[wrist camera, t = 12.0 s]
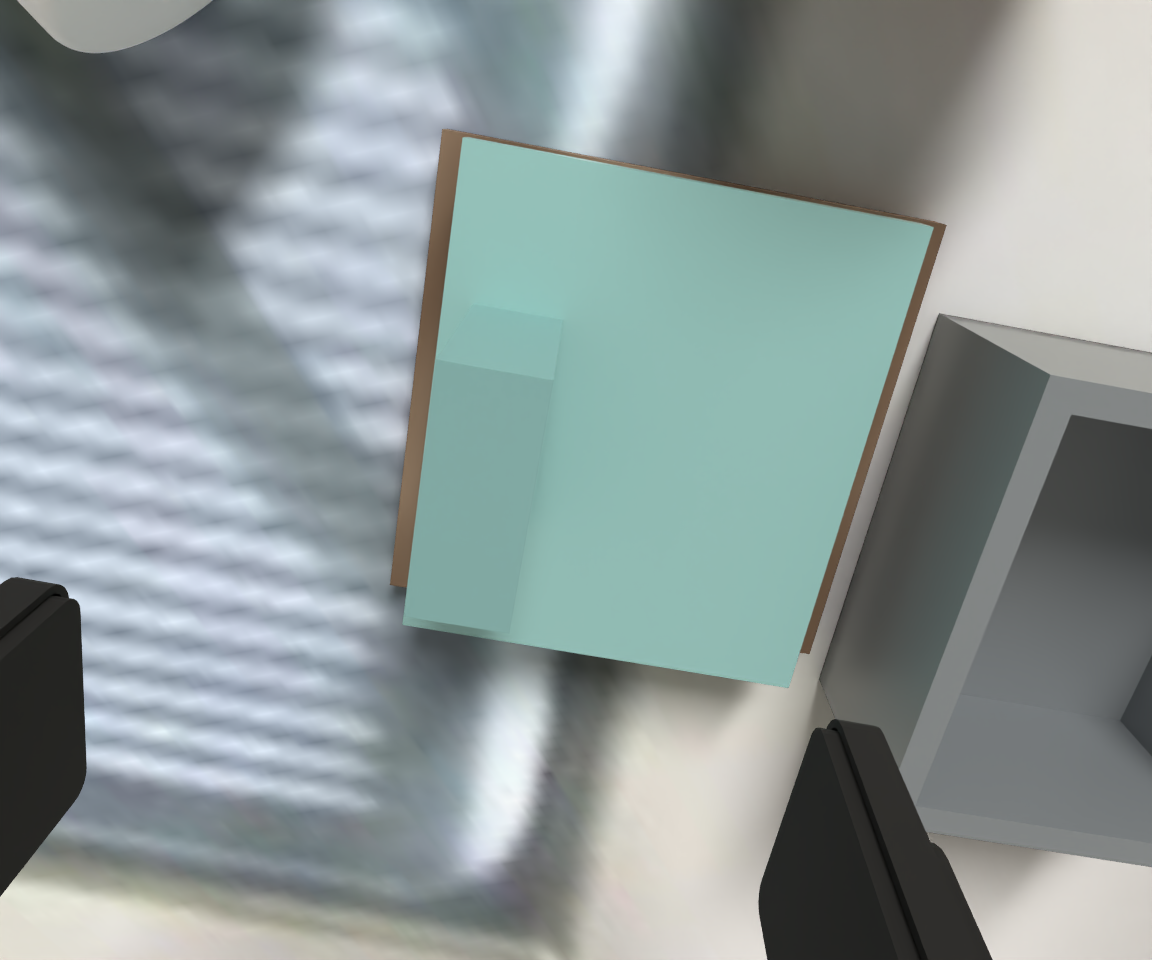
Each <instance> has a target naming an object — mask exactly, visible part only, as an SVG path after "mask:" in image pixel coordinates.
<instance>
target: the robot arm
mask: <svg viewBox="0 0 1152 960" xmlns="http://www.w3.org/2000/svg"><path fill="white" fill-rule="evenodd" d="M85 776H86V742H85V716H84V691H83V666H82V640H81V615H80V606H79V604H78V602H77V601H76V600H74V599H70V598H69V596H68V592H67V591H66V589H65V587H63V586H62V585H59V584H53V583H47V582H41V581H36V580H30V579H24V578H18V577H15V578H10V579H8V580H6V581H4V582H3V583H2V584H0V896H1V895H2V894H3V892H4V891H5V890H6V889H7V887H8V886H9V885H10V884H11V882H12V881H13V880H14V878H15V877H16V876H17V875H18V873H19V872H20V871H21V869H22V868H23V867H24V866H25V864H26V863H27V862H28V860H29V859H30V858H31V857H32V855H33V854H34V853H35V852H36V850H37V849H38V848H39V846H40V845H41V844H42V843H43V841H44V840H45V839H46V837H47V836H48V835H49V834H50V832H51V831H52V830H53V829H54V827H55V826H56V825H57V823H58V822H59V821H60V820H61V818H62V817H63V816H64V814H65V813H66V812H67V811H68V809H69V808H70V807H71V806H72V804H73V803H74V802H75V800H76V799H77V797H78V796H79V793H80V791H81V789H82V787H83V784H84V781H85ZM759 915H760V921H761V927H762V932H763V938H764V943H765V949H766V954H767V960H992V958H991V955H990V953H989V951H988V949H987V946H986V944H985V942H984V940H983V937H982V935H981V933H980V931H979V928H978V926H977V924H976V922H975V919H974V917H973V915H972V913H971V910H970V908H969V906H968V904H967V901H966V899H965V897H964V895H963V892H962V890H961V888H960V886H959V883H958V881H957V879H956V877H955V874H954V872H953V870H952V868H951V865H950V863H949V861H948V859H947V857H946V856H945V854H944V852H943V851H942V849H941V848H940V847H938V846H937V845H936V844H934V843H931V842H930V840H929V838H928V835H927V833H926V831H925V828H924V826H923V824H922V822H921V819H920V817H919V815H918V812H917V810H916V808H915V805H914V803H913V801H912V798H911V796H910V794H909V791H908V789H907V787H906V784H905V782H904V780H903V778H902V775H901V773H900V771H899V768H898V766H897V764H896V761H895V759H894V757H893V754H892V752H891V750H890V747H889V745H888V743H887V740H886V738H885V736H884V734H883V732H882V730H881V729H880V728H879V727H877V726H873V725H868V724H862V723H856V722H850V721H845V720H839V719H834V720H832V721H831V722H830V723H829V724H828V726H827V729H823V728H816V729H815V730H814V731H813V733H812V735H811V738H810V741H809V744H808V746H807V749H806V752H805V755H804V758H803V761H802V764H801V767H800V770H799V773H798V776H797V779H796V782H795V785H794V787H793V790H792V793H791V796H790V799H789V802H788V805H787V808H786V811H785V814H784V817H783V820H782V823H781V825H780V828H779V831H778V834H777V837H776V840H775V843H774V846H773V849H772V852H771V855H770V858H769V861H768V864H767V866H766V869H765V872H764V875H763V878H762V881H761V885H760V891H759Z"/></svg>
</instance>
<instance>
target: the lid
mask: <svg viewBox="0 0 1152 960" xmlns="http://www.w3.org/2000/svg"><path fill="white" fill-rule="evenodd" d="M933 228H934V227H932V226H928V225H925V224H922V223H917V222H912V221H907V220H902V219H896V218H891V217H886V216H881V215H875V214H870V213H865V212H860V211H854V210H849V209H844V208H839V207H833V206H828V205H823V204H818V203H812V202H807V201H802V200H797V199H791V198H786V197H781V196H776V195H770V194H765V193H760V192H755V191H749V190H744V189H739V188H734V187H728V186H723V185H718V184H712V183H707V182H702V181H697V180H691V179H686V178H681V177H676V176H670V175H665V174H660V173H655V172H649V171H644V170H639V169H634V168H628V167H623V166H618V165H613V164H607V163H602V162H597V161H592V160H586V159H581V158H576V157H571V156H565V155H560V154H555V153H550V152H544V151H539V150H534V149H529V148H523V147H518V146H513V145H507V144H502V143H497V142H492V141H486V140H481V139H476V138H471V137H463V138H462V146H461V154H460V162H459V170H458V178H457V187H456V195H455V203H454V211H453V219H452V227H451V235H450V243H449V251H448V260H447V268H446V276H445V284H444V292H443V300H442V308H441V316H440V324H439V333H438V341H437V349H436V357H435V365H434V373H433V381H432V389H431V397H430V405H429V414H428V422H427V430H426V438H425V446H424V454H423V462H422V470H421V478H420V487H419V495H418V503H417V511H416V519H415V527H414V535H413V543H412V551H411V560H410V568H409V576H408V584H407V592H406V600H405V608H404V616H403V624H402V625H406V626H412V627H419V628H425V629H431V630H437V631H443V632H449V633H455V634H461V635H468V636H474V637H480V638H486V639H492V640H498V641H504V642H510V643H516V644H523V645H529V646H535V647H541V648H547V649H553V650H559V651H565V652H571V653H578V654H584V655H590V656H596V657H602V658H608V659H614V660H620V661H626V662H633V663H639V664H645V665H651V666H657V667H663V668H669V669H675V670H682V671H688V672H694V673H700V674H706V675H712V676H718V677H724V678H730V679H737V680H743V681H749V682H755V683H761V684H767V685H773V686H779V687H785V688H789V685H790V682H791V678H792V675H793V672H794V669H795V666H796V663H797V659H798V656H799V653H800V650H801V647H802V644H803V640H804V637H805V634H806V631H807V628H808V625H809V621H810V618H811V615H812V612H813V609H814V605H815V602H816V599H817V596H818V593H819V590H820V586H821V583H822V580H823V577H824V574H825V571H826V567H827V564H828V561H829V558H830V555H831V552H832V548H833V545H834V542H835V539H836V536H837V533H838V529H839V526H840V523H841V520H842V517H843V514H844V510H845V507H846V504H847V501H848V498H849V495H850V491H851V488H852V485H853V482H854V479H855V476H856V472H857V469H858V466H859V463H860V460H861V456H862V453H863V450H864V447H865V444H866V441H867V437H868V434H869V431H870V428H871V425H872V422H873V418H874V415H875V412H876V409H877V406H878V403H879V399H880V396H881V393H882V390H883V387H884V384H885V380H886V377H887V374H888V371H889V368H890V365H891V361H892V358H893V355H894V352H895V349H896V346H897V342H898V339H899V336H900V333H901V330H902V327H903V323H904V320H905V317H906V314H907V311H908V308H909V304H910V301H911V298H912V295H913V292H914V288H915V285H916V282H917V279H918V276H919V273H920V269H921V266H922V263H923V260H924V257H925V254H926V250H927V247H928V244H929V241H930V238H931V235H932V231H933Z"/></svg>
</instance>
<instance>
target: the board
mask: <svg viewBox="0 0 1152 960" xmlns="http://www.w3.org/2000/svg"><path fill="white" fill-rule="evenodd" d="M463 137H471V138H476V139H481V140H486V141H492V142H497V143H502V144H507V145H513V146H518V147H523V148H529V149H534V150H539V151H544V152H550V153H555V154H560V155H565V156H571V157H576V158H581V159H586V160H592V161H597V162H602V163H607V164H613V165H618V166H623V167H628V168H634V169H639V170H644V171H649V172H655V173H660V174H665V175H670V176H676V177H681V178H686V179H691V180H697V181H702V182H707V183H712V184H718V185H723V186H728V187H734V188H739V189H744V190H749V191H755V192H760V193H765V194H770V195H776V196H781V197H786V198H791V199H797V200H802V201H807V202H812V203H818V204H823V205H828V206H833V207H839V208H844V209H849V210H854V211H860V212H865V213H870V214H875V215H881V216H886V217H891V218H896V219H902V220H907V221H912V222H917V223H922V224H925V225H928V226H932V227H934V228H933V231H932V235H931V238H930V241H929V244H928V247H927V250H926V254H925V257H924V260H923V263H922V266H921V269H920V273H919V276H918V279H917V282H916V285H915V288H914V292H913V295H912V298H911V301H910V304H909V308H908V311H907V314H906V317H905V320H904V323H903V327H902V330H901V333H900V336H899V339H898V342H897V346H896V349H895V352H894V355H893V358H892V361H891V365H890V368H889V371H888V374H887V377H886V380H885V384H884V387H883V390H882V393H881V396H880V399H879V403H878V406H877V409H876V412H875V415H874V418H873V422H872V425H871V428H870V431H869V434H868V437H867V441H866V444H865V447H864V450H863V453H862V456H861V460H860V463H859V466H858V469H857V472H856V476H855V479H854V482H853V485H852V488H851V491H850V495H849V498H848V501H847V504H846V507H845V510H844V514H843V517H842V520H841V523H840V526H839V529H838V533H837V536H836V539H835V542H834V545H833V548H832V552H831V555H830V558H829V561H828V564H827V567H826V571H825V574H824V577H823V580H822V583H821V586H820V590H819V593H818V596H817V599H816V602H815V605H814V609H813V612H812V615H811V618H810V621H809V625H808V628H807V631H806V634H805V637H804V640H803V644H802V647H801V650H800V653H806V654H810V651H811V647H812V644H813V641H814V638H815V635H816V632H817V629H818V626H819V622H820V619H821V616H822V613H823V610H824V607H825V604H826V601H827V597H828V594H829V591H830V588H831V585H832V582H833V579H834V575H835V572H836V569H837V566H838V563H839V560H840V557H841V554H842V550H843V547H844V544H845V541H846V538H847V535H848V532H849V529H850V525H851V522H852V519H853V516H854V513H855V510H856V507H857V504H858V500H859V497H860V494H861V491H862V488H863V485H864V482H865V479H866V475H867V472H868V469H869V466H870V463H871V460H872V457H873V454H874V450H875V447H876V444H877V441H878V438H879V435H880V432H881V428H882V425H883V422H884V419H885V416H886V413H887V410H888V407H889V403H890V400H891V397H892V394H893V391H894V388H895V385H896V382H897V378H898V375H899V372H900V369H901V366H902V363H903V360H904V357H905V353H906V350H907V347H908V344H909V341H910V338H911V335H912V332H913V328H914V325H915V322H916V319H917V316H918V313H919V310H920V306H921V303H922V300H923V297H924V294H925V291H926V288H927V285H928V281H929V278H930V275H931V272H932V269H933V266H934V263H935V260H936V256H937V253H938V250H939V247H940V244H941V241H942V238H943V235H944V231H945V228H946V225H945V224H941V223H938V222H935V221H930V220H924V219H919V218H914V217H909V216H903V215H898V214H893V213H888V212H882V211H877V210H872V209H866V208H861V207H856V206H851V205H845V204H840V203H835V202H830V201H824V200H819V199H814V198H809V197H803V196H798V195H793V194H787V193H782V192H777V191H772V190H766V189H761V188H756V187H751V186H745V185H740V184H735V183H730V182H724V181H719V180H714V179H709V178H703V177H698V176H693V175H687V174H682V173H677V172H672V171H666V170H661V169H656V168H651V167H645V166H640V165H635V164H630V163H624V162H619V161H614V160H608V159H603V158H598V157H593V156H587V155H582V154H577V153H572V152H566V151H561V150H556V149H551V148H545V147H540V146H535V145H529V144H524V143H519V142H514V141H508V140H503V139H498V138H493V137H487V136H482V135H477V134H472V133H466V132H461V131H456V130H450V129H442V137H441V145H440V154H439V163H438V172H437V180H436V189H435V198H434V207H433V215H432V224H431V233H430V241H429V250H428V259H427V268H426V276H425V285H424V294H423V302H422V311H421V320H420V329H419V337H418V346H417V355H416V363H415V372H414V381H413V390H412V398H411V407H410V416H409V425H408V433H407V442H406V451H405V459H404V468H403V477H402V486H401V494H400V503H399V512H398V520H397V529H396V538H395V547H394V555H393V564H392V573H391V581H390V585H394V586H400V587H406V588H407V584H408V576H409V568H410V560H411V551H412V543H413V535H414V527H415V519H416V511H417V503H418V495H419V487H420V478H421V470H422V462H423V454H424V446H425V438H426V430H427V422H428V414H429V405H430V397H431V389H432V381H433V373H434V365H435V357H436V349H437V341H438V333H439V324H440V316H441V308H442V300H443V292H444V284H445V276H446V268H447V260H448V251H449V243H450V235H451V227H452V219H453V211H454V203H455V195H456V187H457V178H458V170H459V162H460V154H461V146H462V138H463Z"/></svg>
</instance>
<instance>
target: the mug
mask: <svg viewBox="0 0 1152 960" xmlns="http://www.w3.org/2000/svg"><path fill="white" fill-rule="evenodd" d="M17 1H18V2H19V3H20V4H21V5H22V6H23V7H24V8H25V9H26V10H27V11H28V12H29V14H30V15H31V16H32V17H33V18H34V19H35V20H36V21H37V22H38V23H39V24H40V25H41V26H42V27H43V28H44V29H45V30H46V31H47V32H48V33H49V34H50V35H51V36H52V37H53V38H54V39H55V40H56V41H58V42H59V43H61V44H62V45H64V46H66V47H68V48H70V49H73V50H76V51H80V52H86V53H107V52H114V51H119V50H123V49H127V48H130V47H133V46H136V45H139V44H141V43H144V42H146V41H148V40H151V39H153V38H155V37H157V36H159V35H161V34H163V33H165V32H167V31H169V30H170V29H172V28H174V27H176V26H177V25H179V24H180V23H182V22H184V21H185V20H187V19H188V18H190V17H191V16H193V15H194V14H195V13H197V12H198V11H200V10H201V9H202V8H204V7H205V6H206V5H208V4H209V3H210V2H211V1H213V0H17Z"/></svg>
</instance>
